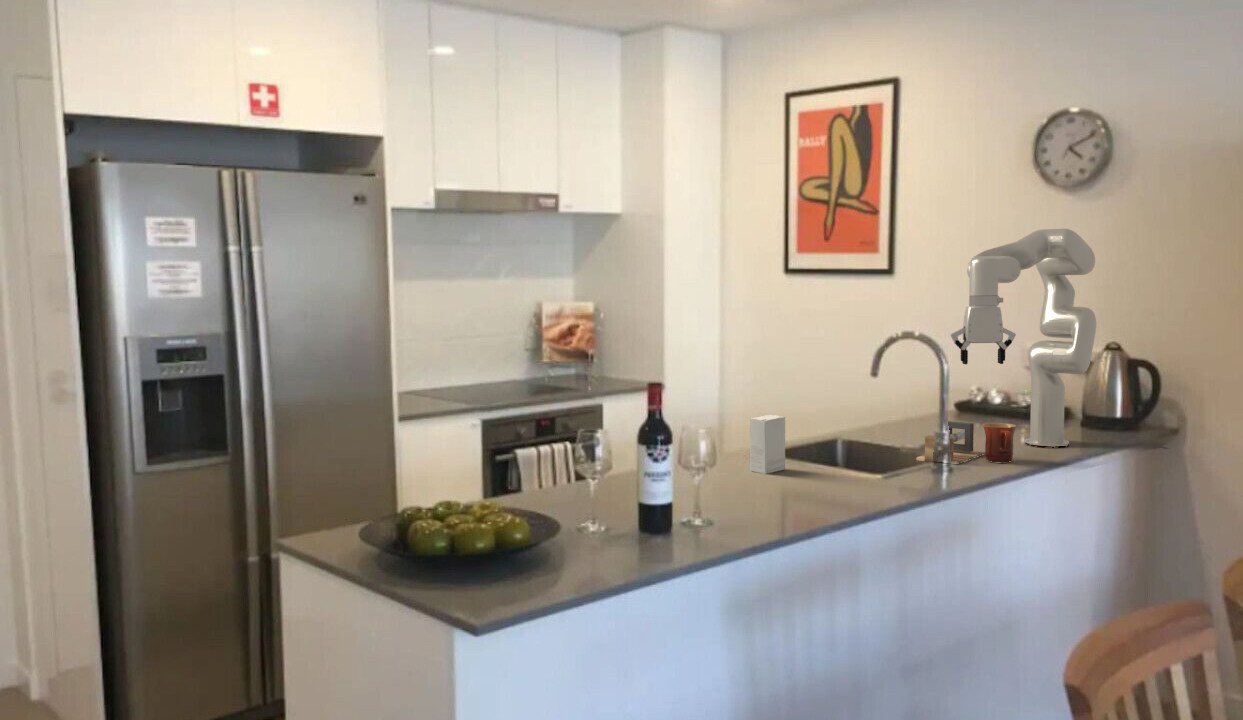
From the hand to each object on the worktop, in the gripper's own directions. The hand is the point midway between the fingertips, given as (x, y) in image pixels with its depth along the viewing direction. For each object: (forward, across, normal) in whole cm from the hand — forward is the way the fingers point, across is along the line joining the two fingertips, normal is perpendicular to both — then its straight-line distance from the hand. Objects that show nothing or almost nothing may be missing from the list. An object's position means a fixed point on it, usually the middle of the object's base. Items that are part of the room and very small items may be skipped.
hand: (982, 363), depth 293 cm
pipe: (+23, +6, -7) cm, 25 cm away
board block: (+28, +7, -6) cm, 29 cm away
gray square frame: (+26, +4, -10) cm, 28 cm away
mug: (+28, -5, +2) cm, 28 cm away
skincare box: (+27, +60, +14) cm, 68 cm away
